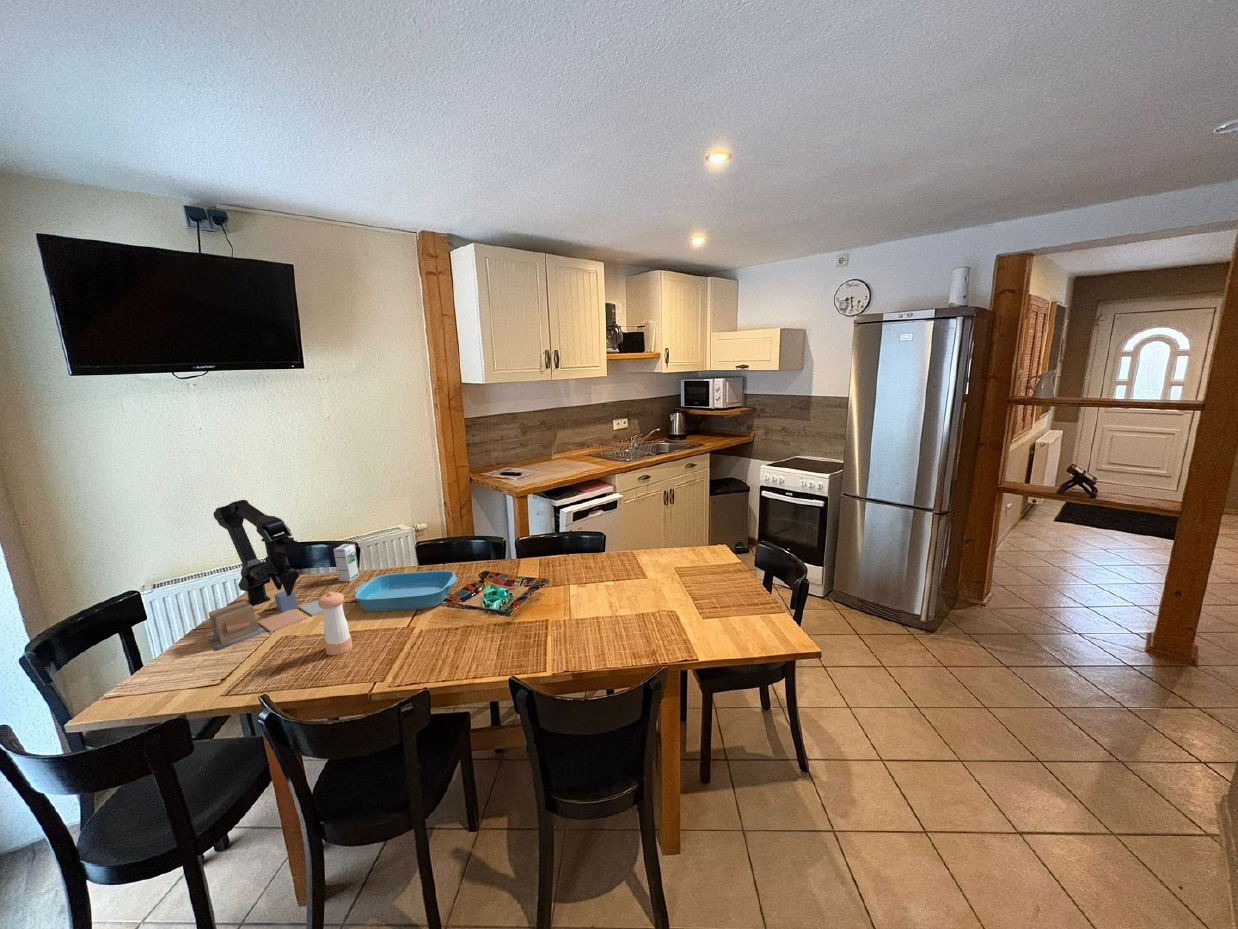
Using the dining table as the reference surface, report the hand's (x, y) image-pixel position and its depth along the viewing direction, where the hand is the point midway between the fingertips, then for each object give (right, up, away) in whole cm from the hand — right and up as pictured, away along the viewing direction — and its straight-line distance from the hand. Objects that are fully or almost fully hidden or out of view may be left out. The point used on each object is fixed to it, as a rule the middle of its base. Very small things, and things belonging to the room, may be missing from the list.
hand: (284, 592), depth 184 cm
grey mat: (+13, -5, +1) cm, 14 cm away
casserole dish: (+45, -4, +4) cm, 45 cm away
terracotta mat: (+5, -8, -9) cm, 13 cm away
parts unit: (-4, -10, -18) cm, 21 cm away
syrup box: (+10, -1, +26) cm, 28 cm away
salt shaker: (+37, -11, -28) cm, 48 cm away
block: (0, -6, +1) cm, 6 cm away
